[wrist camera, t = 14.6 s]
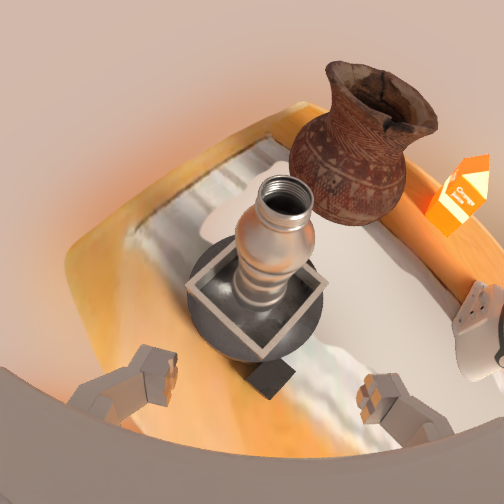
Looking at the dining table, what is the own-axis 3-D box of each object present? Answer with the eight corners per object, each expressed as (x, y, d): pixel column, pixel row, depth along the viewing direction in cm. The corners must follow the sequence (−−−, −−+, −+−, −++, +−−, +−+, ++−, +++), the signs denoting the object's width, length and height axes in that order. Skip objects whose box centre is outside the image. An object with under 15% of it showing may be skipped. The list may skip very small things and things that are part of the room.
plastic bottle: (235, 265, 37) (243, 153, 19) (285, 274, 37) (334, 170, 19) (226, 311, 34) (224, 226, 16) (279, 320, 34) (336, 247, 16)
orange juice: (423, 215, 51) (474, 156, 33) (432, 196, 54) (476, 140, 36) (447, 238, 49) (502, 185, 31) (454, 216, 52) (501, 166, 34)
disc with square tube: (250, 228, 45) (254, 198, 38) (342, 306, 40) (365, 289, 33) (166, 303, 38) (152, 285, 31) (265, 398, 33) (274, 402, 26)
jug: (377, 258, 45) (463, 164, 23) (267, 217, 47) (296, 88, 24) (383, 176, 55) (433, 90, 33) (297, 143, 57) (323, 43, 34)
